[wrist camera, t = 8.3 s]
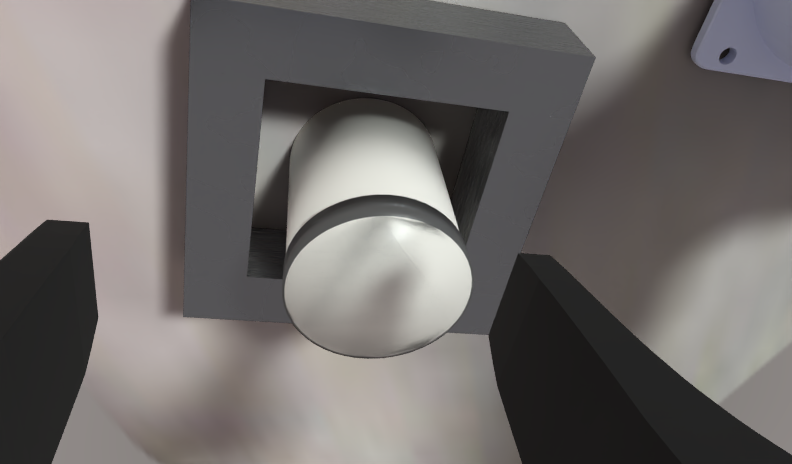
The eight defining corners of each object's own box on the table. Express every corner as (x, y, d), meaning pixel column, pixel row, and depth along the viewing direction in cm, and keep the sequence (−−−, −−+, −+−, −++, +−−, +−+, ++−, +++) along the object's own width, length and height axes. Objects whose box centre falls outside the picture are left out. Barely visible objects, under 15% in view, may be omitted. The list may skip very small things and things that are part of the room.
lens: (467, 161, 22) (512, 285, 17) (364, 247, 23) (378, 382, 19) (362, 65, 19) (380, 177, 15) (256, 168, 21) (241, 299, 16)
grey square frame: (565, 22, 19) (595, 57, 17) (473, 286, 25) (488, 334, 23) (202, -38, 17) (190, -6, 15) (192, 265, 23) (183, 317, 21)
